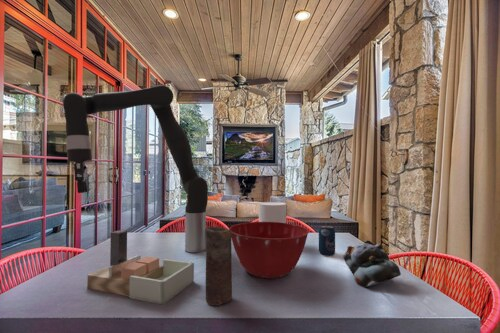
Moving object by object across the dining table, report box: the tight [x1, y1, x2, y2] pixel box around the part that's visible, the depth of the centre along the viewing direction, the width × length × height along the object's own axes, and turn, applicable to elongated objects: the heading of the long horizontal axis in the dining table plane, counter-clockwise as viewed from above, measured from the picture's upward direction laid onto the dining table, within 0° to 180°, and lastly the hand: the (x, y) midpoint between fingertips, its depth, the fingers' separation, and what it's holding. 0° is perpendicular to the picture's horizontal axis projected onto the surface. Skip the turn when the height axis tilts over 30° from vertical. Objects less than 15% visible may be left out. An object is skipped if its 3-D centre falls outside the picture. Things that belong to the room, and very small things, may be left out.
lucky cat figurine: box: [342, 240, 401, 289], centre depth 86 cm, size 15×12×14 cm
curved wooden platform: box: [86, 264, 163, 297], centre depth 84 cm, size 17×14×4 cm
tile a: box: [136, 256, 160, 273], centre depth 85 cm, size 5×5×3 cm
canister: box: [258, 201, 287, 223], centre depth 129 cm, size 14×14×20 cm
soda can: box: [318, 224, 336, 257], centre depth 113 cm, size 7×7×12 cm
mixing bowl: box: [228, 221, 310, 279], centre depth 94 cm, size 28×28×16 cm
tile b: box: [121, 262, 146, 279], centre depth 79 cm, size 5×5×3 cm
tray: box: [128, 258, 195, 305], centre depth 79 cm, size 11×16×6 cm
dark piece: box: [109, 229, 142, 277], centre depth 85 cm, size 5×12×12 cm, turn 161°
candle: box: [205, 226, 233, 306], centre depth 73 cm, size 8×7×20 cm
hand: (82, 192), depth 96 cm, fingers open, 8 cm apart
